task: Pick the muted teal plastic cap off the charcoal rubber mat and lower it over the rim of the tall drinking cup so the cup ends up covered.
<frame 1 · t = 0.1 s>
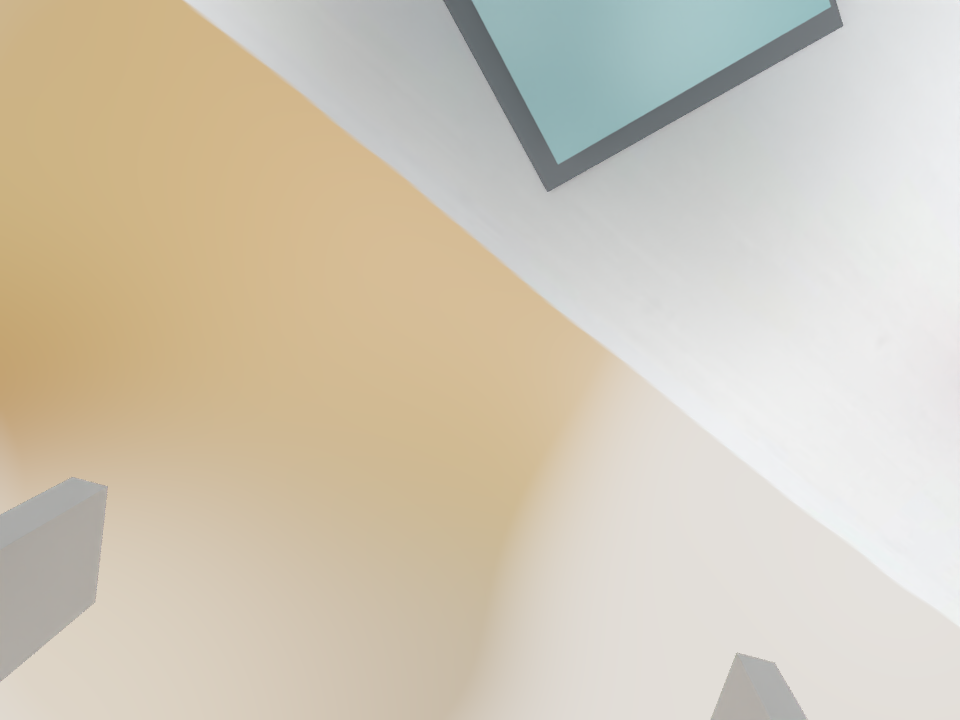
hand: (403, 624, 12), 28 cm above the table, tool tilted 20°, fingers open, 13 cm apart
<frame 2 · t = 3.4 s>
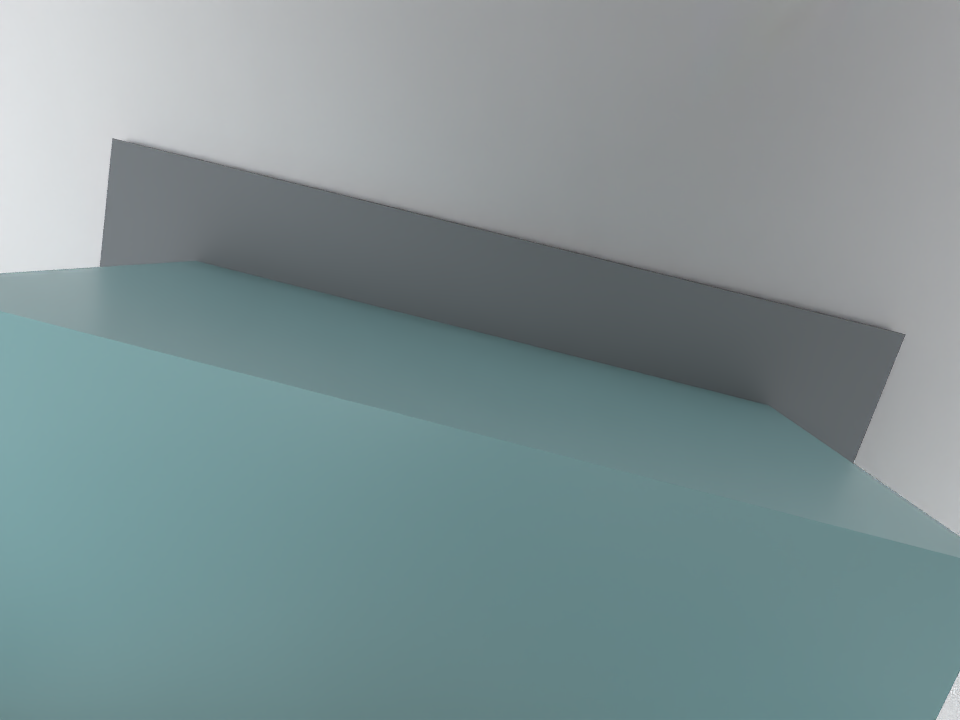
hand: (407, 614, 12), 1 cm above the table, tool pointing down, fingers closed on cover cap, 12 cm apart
cover cap: (415, 587, 13), resting on rubber mat, touching gripper
rubber mat: (418, 578, 14), on the table
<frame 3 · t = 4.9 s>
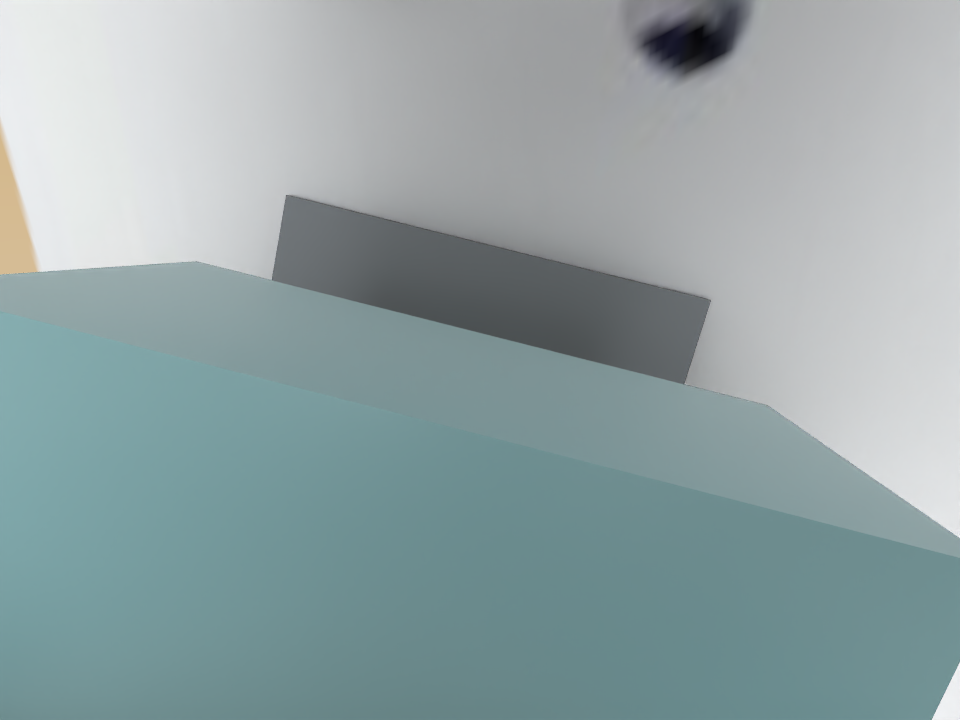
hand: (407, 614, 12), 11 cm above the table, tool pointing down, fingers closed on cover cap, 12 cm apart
cover cap: (416, 587, 13), point 10 cm above the table, touching gripper
rubber mat: (449, 445, 23), on the table
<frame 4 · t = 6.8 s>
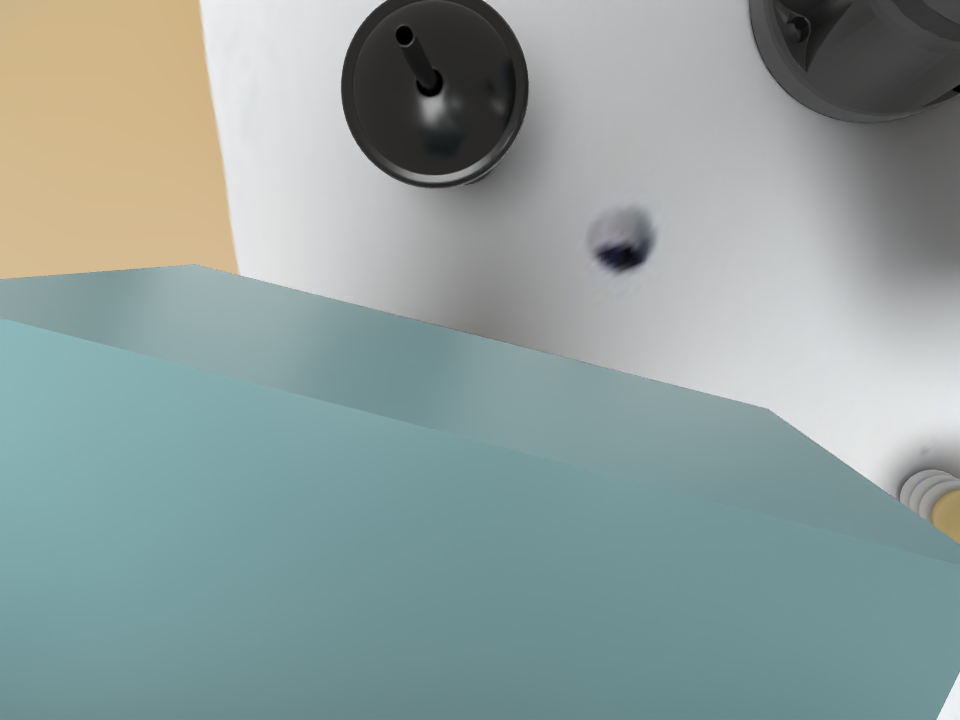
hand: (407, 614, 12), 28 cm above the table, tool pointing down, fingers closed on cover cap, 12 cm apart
light bulb: (921, 490, 40), on the table
cover cap: (415, 590, 13), point 27 cm above the table, touching gripper
drinking cup: (463, 145, 37), on the table
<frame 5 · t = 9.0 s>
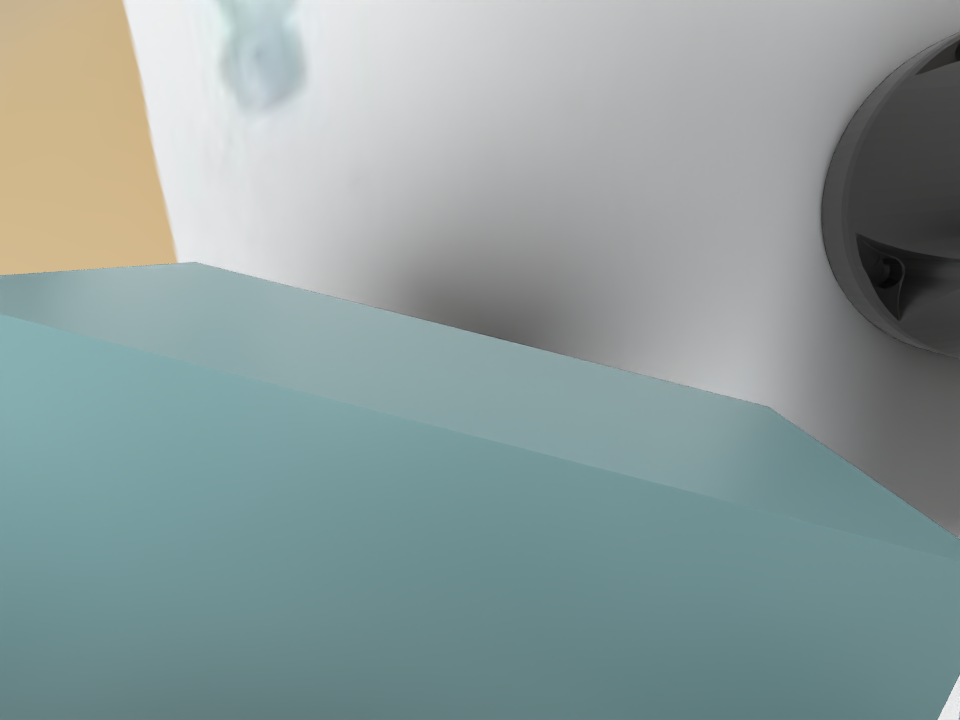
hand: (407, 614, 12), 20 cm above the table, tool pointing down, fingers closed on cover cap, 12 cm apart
cover cap: (415, 589, 13), point 19 cm above the table, touching gripper
when the fingers open (18 cm above the table, at t = 10.5 s): cover cap drops 2 cm, resting on drinking cup.
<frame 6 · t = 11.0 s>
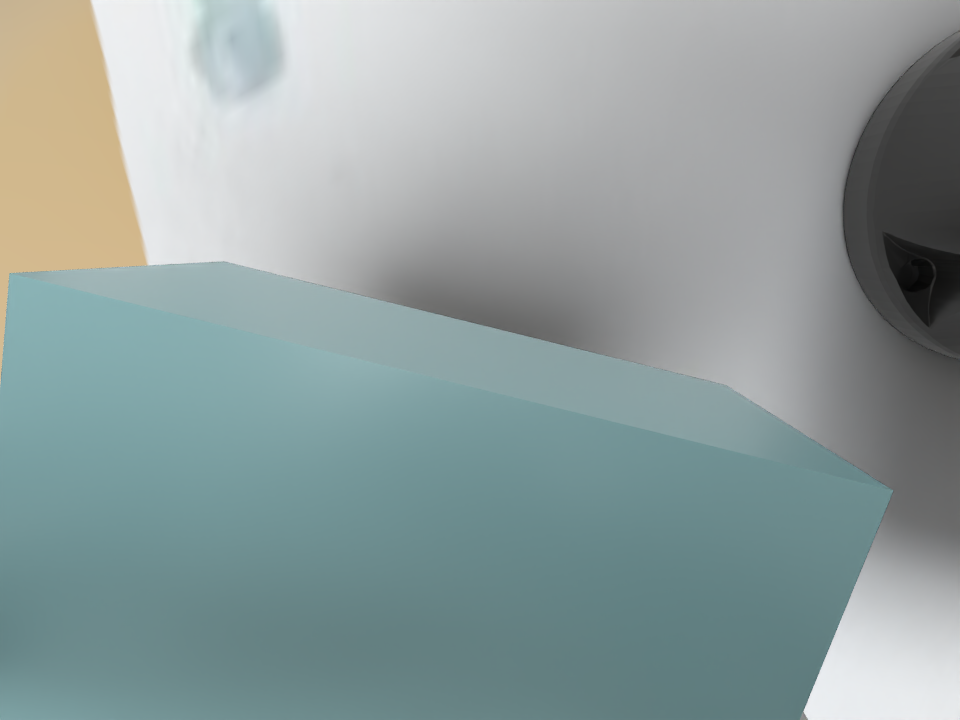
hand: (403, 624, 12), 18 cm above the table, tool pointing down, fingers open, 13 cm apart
cover cap: (419, 553, 15), point 15 cm above the table, touching drinking cup
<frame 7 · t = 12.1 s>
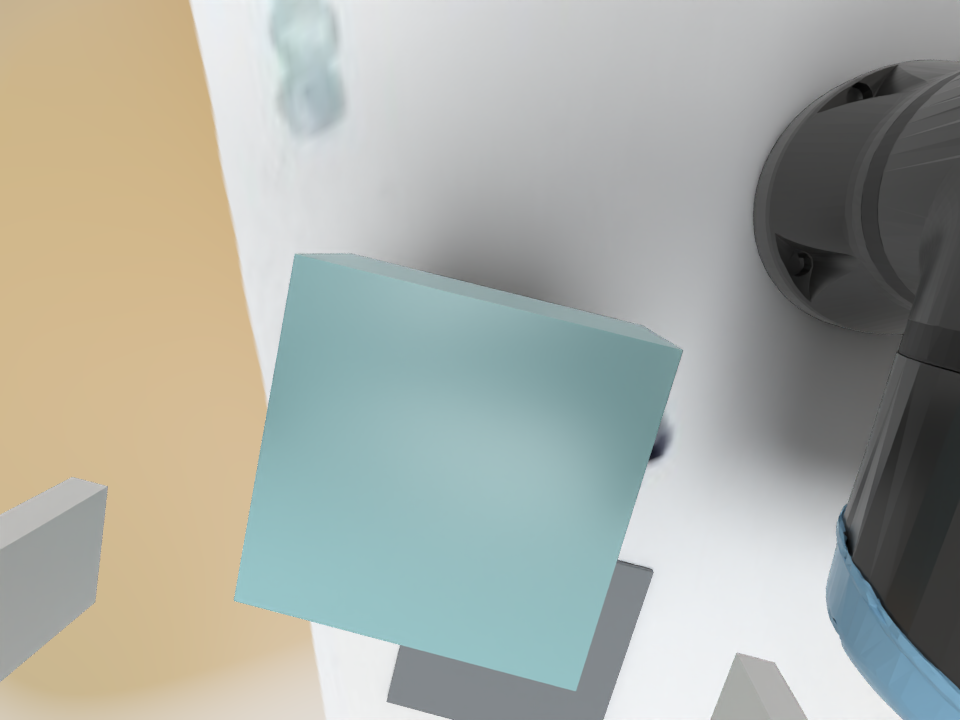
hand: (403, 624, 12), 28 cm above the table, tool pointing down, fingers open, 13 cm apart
cover cap: (461, 428, 25), point 15 cm above the table, touching drinking cup
rubber mat: (514, 636, 43), on the table
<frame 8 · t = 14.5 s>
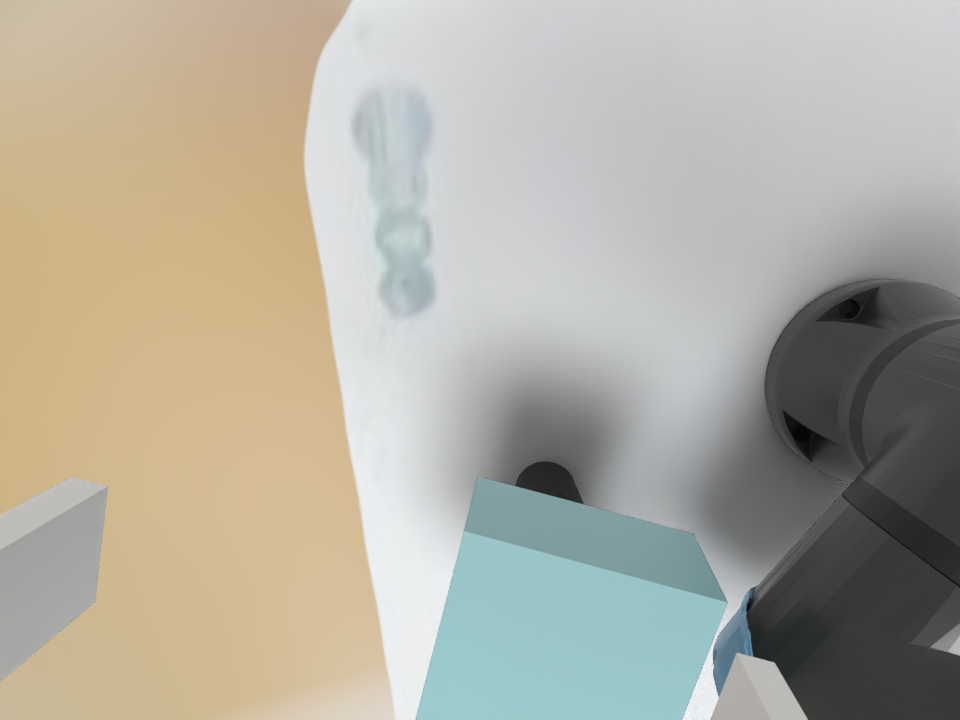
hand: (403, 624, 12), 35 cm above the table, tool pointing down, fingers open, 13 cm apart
cover cap: (555, 598, 33), point 15 cm above the table, touching drinking cup
drinking cup: (545, 488, 48), on the table, touching cover cap
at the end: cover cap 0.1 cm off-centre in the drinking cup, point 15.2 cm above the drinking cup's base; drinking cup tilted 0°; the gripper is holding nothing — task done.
